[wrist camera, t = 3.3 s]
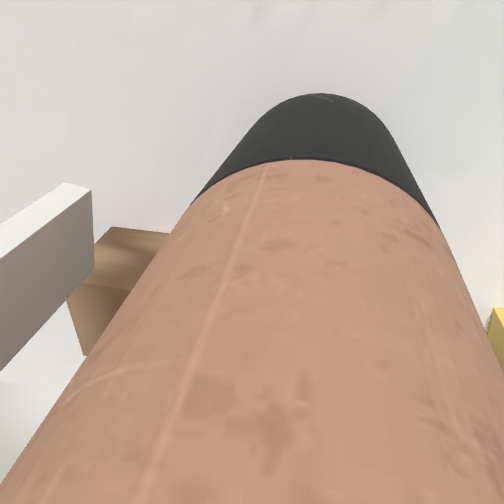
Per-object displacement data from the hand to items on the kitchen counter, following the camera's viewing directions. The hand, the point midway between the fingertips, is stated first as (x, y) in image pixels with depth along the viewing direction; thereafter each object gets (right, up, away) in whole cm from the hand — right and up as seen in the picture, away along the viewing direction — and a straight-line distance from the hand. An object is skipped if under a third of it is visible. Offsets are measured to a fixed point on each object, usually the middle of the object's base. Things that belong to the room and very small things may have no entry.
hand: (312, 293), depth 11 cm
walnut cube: (-7, 0, +12) cm, 14 cm away
